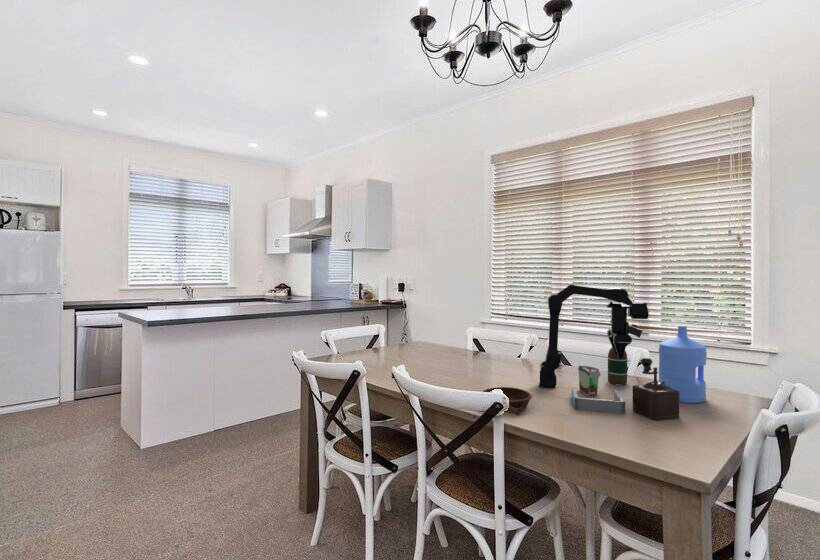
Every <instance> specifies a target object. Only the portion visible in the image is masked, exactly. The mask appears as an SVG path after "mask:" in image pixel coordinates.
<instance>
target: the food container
mask: <svg viewBox="0 0 820 560" xmlns="http://www.w3.org/2000/svg"><path fill="white" fill-rule="evenodd" d="M577 371H578V387H579V389H578V390H579V391H580V390H581V391H580V392H581V393H583V394H584V393H585V395H586V396H587V397H588V396H590V397H595V395H596V396H597V395H598V388H599V377H601V371H600V369H598V368H597V367H594V366H588V365H578V369H577Z"/></svg>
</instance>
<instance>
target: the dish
mask: <svg viewBox="0 0 820 560" xmlns="http://www.w3.org/2000/svg"><path fill="white" fill-rule="evenodd" d="M494 389H501V390H502V391H503V393H504V394H505V395H506V396H507V397H508V398H509V408H508V410H507V411H511V412H510V413H514V414H521V413H523V411H524V410H525V409H526V408H527V407H528V405H529V403H530V401H531V399H532V398H533V397H532V396H533V395H532V394H531V393H530V392H529V391H527V390H525V389H521V388H517V387H508V386H507V387H506V386H502V387H501V386H497V387H491V388H486V389H484V390H483V391H482V393H483V392H490V391H492V390H494ZM523 409H524V410H523ZM507 411H506V412H507Z"/></svg>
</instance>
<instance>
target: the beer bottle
mask: <svg viewBox="0 0 820 560" xmlns="http://www.w3.org/2000/svg"><path fill="white" fill-rule="evenodd" d="M607 382H608V383H609V382H610V383H609V384H611V383H612V384H611V385H616V384H618V385H617V386H625V385H627V384H628V353H627V351H626V350H625V351H624V355H623V358H622V359H621V358H619V356H618V354H615V352H614V350H613V347H612V346H611V348H610V349H609V350H608V353H607ZM626 383H627V384H626Z"/></svg>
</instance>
